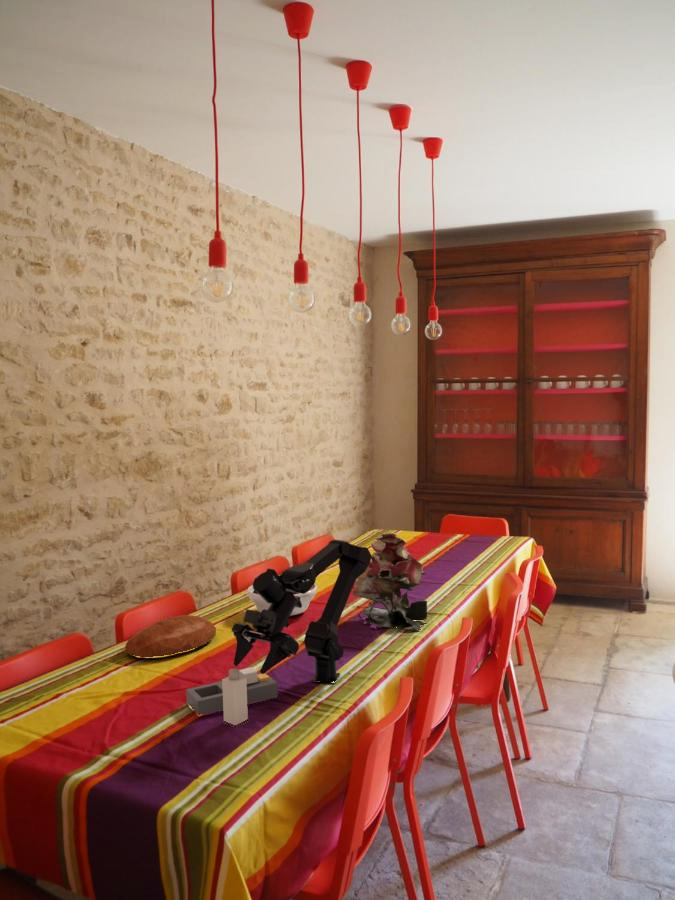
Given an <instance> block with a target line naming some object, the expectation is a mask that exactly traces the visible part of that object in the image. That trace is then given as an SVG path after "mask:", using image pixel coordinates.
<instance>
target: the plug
mask: <svg viewBox="0 0 675 900" xmlns="http://www.w3.org/2000/svg"><path fill="white" fill-rule="evenodd" d="M239 670H240V669H239V668H237V667H236V668H235V667H234V668H231V669H229V670H228V676H227V677H225V678H222V679H221V681H222V689H223V722H224V721H226V722H228V723H231V724H233V725H237V724H239V723H241V722H243V721H245V720H247V719H248V720H249V714H248V712H249V711H248V706H247V683H246V678H245V677H242V676H239Z"/></svg>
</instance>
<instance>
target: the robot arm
mask: <svg viewBox="0 0 675 900" xmlns="http://www.w3.org/2000/svg"><path fill="white" fill-rule="evenodd" d="M371 555H372V554H371V552H370V549H369V548H368V547H365V546H357V545H355V544H351V543H349V542H348V541H346V540H339V539H331V540H330V541H328V544H326V545H325V546H324V547H323V548H322V549H320V550H319V551H318V552H316V553H315V554H314V555H313V556H311V557H310V558H308V559H307V560H306V561H304V562H303V563H300V564H295V565H292V566H290V567H288V568H286V569H284V570H283V571H284V572H283V571H282V572H283V573H282V572H281V573H282V574H281V573H280V574H281V575H280V574H278V573H277V571H276V570H275V569H274V568H267V569H266V571H264V572H262V573H260V574H259V575H258V576H257V577H255V578H254V580H253V583H252V585H253V588H254V590H255V591H256V592H257V593H258V594H259V595H260V596H261V597H262V598H263V599H264V600H265V601H266V602H267V603H271V604H270V606H269V608H268V610H265V609H264V610H262V612H259V611H258V610H257V611H256V610H252V609H247V608H246V610H245V612H244V616H243V621H242V622H241V621H239V622H236V623H234V624H233V626H232V628H231V632H232V633H233V636H234V637H235V639H236V649H235V653H234V659H233V665H234V666H235V667H238V666H239V665H240V664H241V663H242V661H244V659H245V657H246V656H247V655H248V654H249V652H251V650H252V649H253V648H254V643H256V641H261V642H265V643H269V651H268V653H267V655H266V658H265V659H264V661H263V662H262V663H263V664H262V665H261V668H260V671H259V673H262V674H264V673H265V674H266V673H267V672H268V671H269V670H271V669H272V668H274V667H275V666H276V665H278V664H279V663H281V662H282V661H284V660H285V659H287V658H291V656H292V655H293V656H296V655H297V653H298V652H299V650H300V644H299V642H297V640H296V639H295V638H294V637H293V636H292V635H291V634H290V633H286V632H283V630H284V628H289V626H290V623H289V622H288V620H289V618H290V617H291V616H290V615H291V613H292V611H293V609H294V608H295V607H298V608H301V607H302V603H301V601H300V597H297V596H295V595H294V594H293V593H292V592H296V593H301V594H305V593H307V592H308V591H309V590H310V588H311V587H312V586H313V585H314V584H316V580H317V579H316V578H317V577H319V575H321V574H322V573H323V572H324V571H325V570H327V569H329V567H330V566H332V565H333V564H334V563H335V562H337V561H338V567H339V568H338V569H339V573H338V575H337V578H336V580H335V582H334V585H333V587H332V590H331V591H330V594H329V597H328V599H327V602H326V604H325V606H324V609H323V611H322V613H321V616H320V618H319V619H318V620H316V621H313V620H311V621H310V623H309V624H308V627H307V630H306V631H305V633H304V640H303V643H304V646H305V649H306V652H307V656H308V657H312V658H313V657H314V667H315V668H314V669H315V670H314V671H315V672H314V673H315V675H314V676H313V677H312V679H311V682H312V681H320V682H333V681H334V682H335V681H336V680H338V679H339V678H338V677H340V676H341V673H340V672H337V661H340V660H341V658H343V657H344V651H345V649H344V648H343V647H342V646H341V645H340V643H338V640H339V632H338V631H339V630H338V625H339V622H340V619H341V617H342V614H343V612H344V610H345V607H346V605H347V602H348V600H349V597H350V595H351V592H352V590H353V586H355V585H354V584H356V582H355V580H356V579H357V578H358V577H359V576H360V575H361V574H363V573H364V572H365V571H366V569H367V567H368V565H369V563H370V561H371V560H372V559H371ZM289 591H291V592H289ZM248 623H249V624H251V626H250V625H249V624H248ZM253 628H254V629H255V630H254V629H253ZM339 675H340V676H339ZM337 678H338V679H337ZM336 682H337V681H336Z"/></svg>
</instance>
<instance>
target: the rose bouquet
mask: <svg viewBox="0 0 675 900" xmlns="http://www.w3.org/2000/svg"><path fill="white" fill-rule="evenodd" d="M375 540H376V541H373V542H371V544H370V547H371V548H372V550H373V551H374V552H373V553H372V554H371V561H370V563H369V565H368V567H367V569H366V571H365V572H364V573H363V574H361V575H360V576H359V577H358V578H357V579H356V580H355V585H353V588H352V590H353V591H352V596H354V597H355V596H356V597H358V598H362V599H365V600H366V599H367V600H370V602H368V604H367V605H368V606H369V607H366V608H364V609H363V610H362V612H364V613H363V615H367V616H368V618H366V619H365V620H363V622H364V621H366V622H367V623H372V624H373V623H374V624H376V625H378V626H376V627H377V628H378V629H379V628H389V629H400V626H397V625H395V624H394V623H395V621H396V620H397V618H401V619H402V618H403V620H405V621H406V623H407V624H410V626H409V627H405V628H404V629H405V630H412V631H416V632H419V630H421V629H420V628H421V627H422V626H421V627H420V625H424V624H427V625H428V623H427V622H426V623H423V622H421V621H413V620H424V619H425V620H426V618H427V617H428V601H427V600H425V599H423V600H417V601H413V602H411V603H410V601H409V598H408V592H418V591H417V590H414V589H413V588H415V587H417V586H419V585H420V584H419V583H420V580H421V579H422V575H423V576H424V575H427V573H426V572H424V569H423V567H424V566H423V565H422V563H421V562H420V561H418V560H417V559H416V558H415V557H414V556H413V554H411V553H410V552H409V549H408V548H406V546H405V545H406V544H407V543H408V541H407V540H405V539H403V538H400V537H398V536H397V533H391V532H388V533H387V532H386V533H382V534H381V533H380V534H378V535H377V536H376V537H375ZM423 584H424V583H421V585H423ZM401 590H406V592H405V593H404V594H403V595H402V591H401ZM377 603H378V604H382V605H383V607H384V608H379V607H378V608H377V607H375V606H376V604H377ZM409 604H410V605H409ZM374 616H378V618H374ZM363 617H364V616H363ZM396 627H397V628H396Z"/></svg>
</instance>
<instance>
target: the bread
mask: <svg viewBox="0 0 675 900" xmlns="http://www.w3.org/2000/svg"><path fill="white" fill-rule="evenodd" d="M216 634H217V627H216V625H214V624H213V623H212V622H211V621H209V620H208V619H206V618H203V617H201V616H197V615H190V614H181V615H176V616H169V617H166V618H163V619H161V620H158V621H156V622H154V623H153V624H150V625H147V626H146V627H144V628H142V629H141V630H139V631H138V632H136V633H135V634H134V635H132V637H130V638H129V639H128V640H127V642H126V644H125V646H124V648H125V652H127V653H129V654H131V655H135V656H140V657H153V656H164V655H171V654H175V653H178V652H183V651H187V650H190V649H193V648H196V647H199V646H201V647H202V645H203V646H204V644H205V645H206V644H208V643H209V642H211V641H212V640H213V639H214V638H215V637H216ZM211 639H212V640H211ZM210 640H211V641H210ZM207 642H208V643H207ZM199 648H200V647H199ZM127 653H126V654H127Z"/></svg>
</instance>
